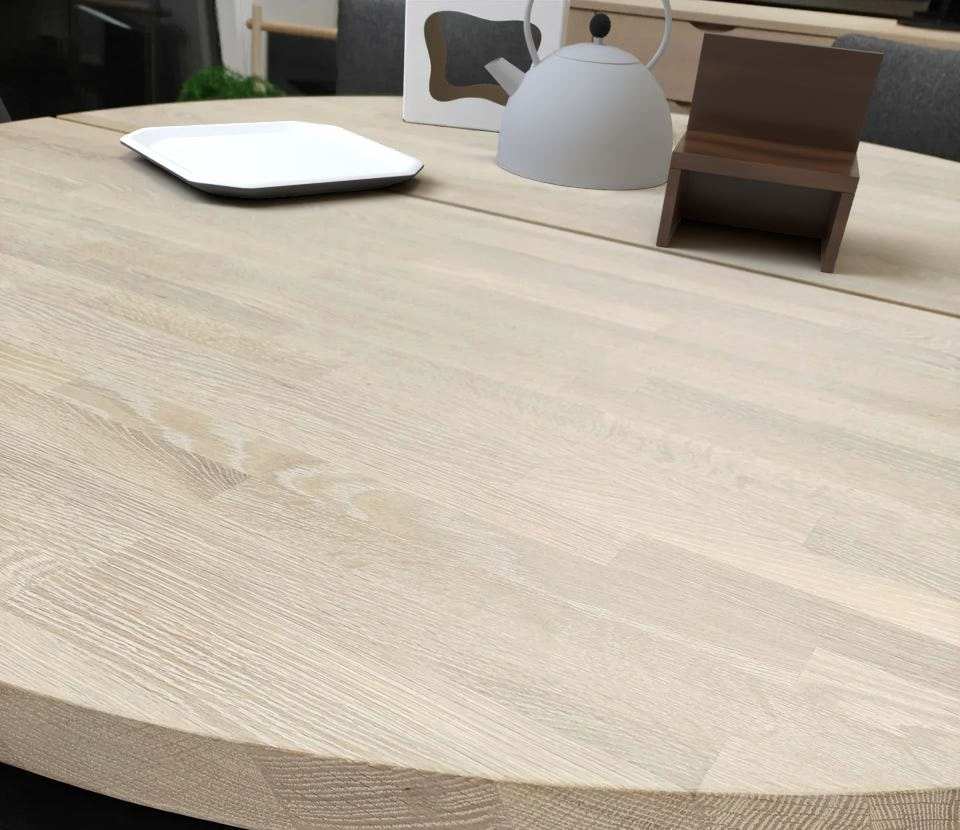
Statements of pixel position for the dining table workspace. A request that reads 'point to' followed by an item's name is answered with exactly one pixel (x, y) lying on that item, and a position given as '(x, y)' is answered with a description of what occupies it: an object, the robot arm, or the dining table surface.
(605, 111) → the kettle
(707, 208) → the brown wooden stand
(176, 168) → the plate
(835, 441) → the dining table surface
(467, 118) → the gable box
